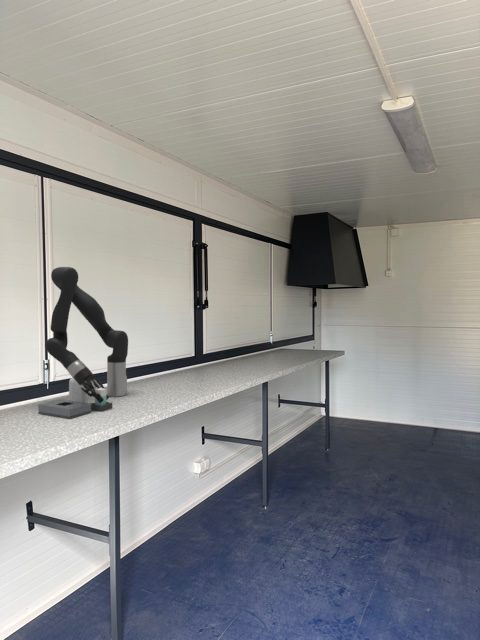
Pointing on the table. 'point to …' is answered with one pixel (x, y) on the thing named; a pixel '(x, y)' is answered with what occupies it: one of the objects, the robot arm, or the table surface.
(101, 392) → the plug
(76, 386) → the photo printer
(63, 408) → the block
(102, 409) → the dark grey square frame
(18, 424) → the table surface
